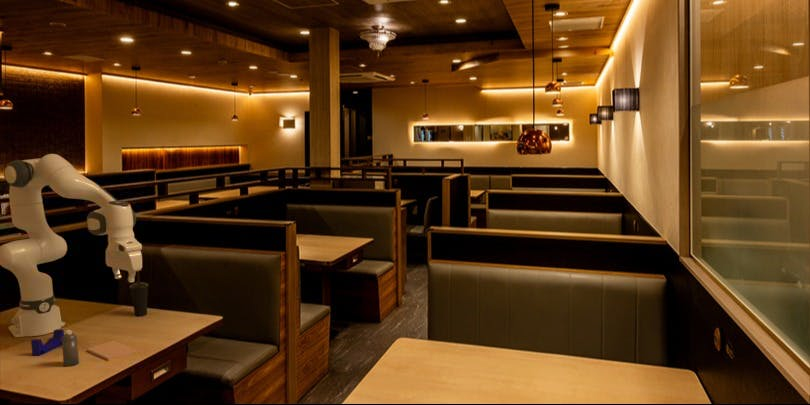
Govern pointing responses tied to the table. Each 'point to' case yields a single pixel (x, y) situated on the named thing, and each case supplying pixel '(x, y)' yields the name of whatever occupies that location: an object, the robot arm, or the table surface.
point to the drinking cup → (139, 297)
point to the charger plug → (70, 349)
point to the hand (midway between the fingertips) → (124, 280)
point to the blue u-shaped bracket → (47, 343)
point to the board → (111, 350)
